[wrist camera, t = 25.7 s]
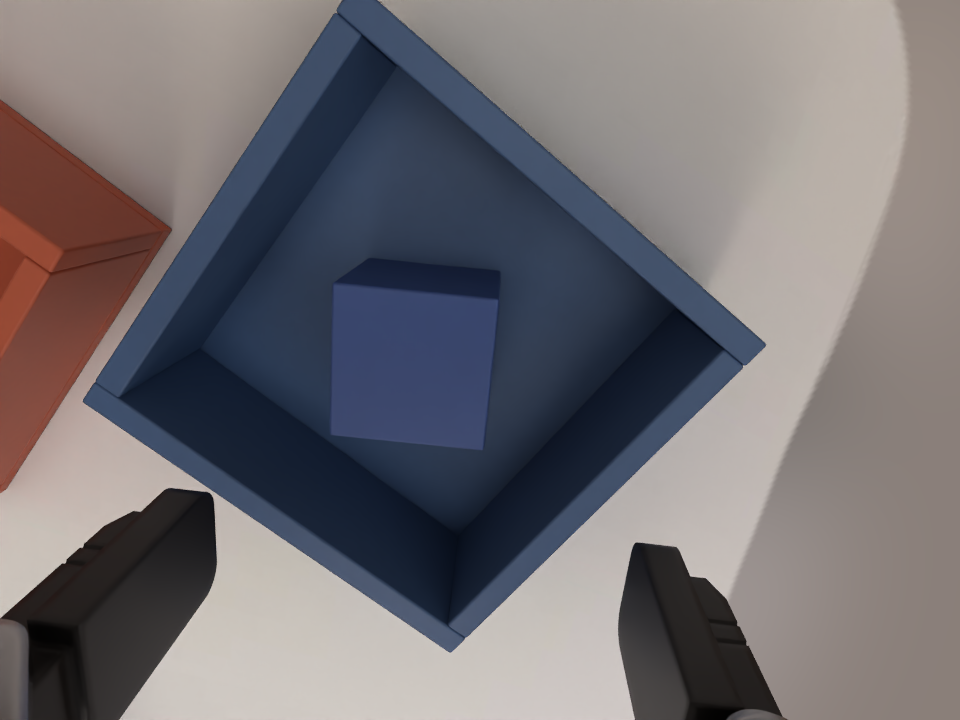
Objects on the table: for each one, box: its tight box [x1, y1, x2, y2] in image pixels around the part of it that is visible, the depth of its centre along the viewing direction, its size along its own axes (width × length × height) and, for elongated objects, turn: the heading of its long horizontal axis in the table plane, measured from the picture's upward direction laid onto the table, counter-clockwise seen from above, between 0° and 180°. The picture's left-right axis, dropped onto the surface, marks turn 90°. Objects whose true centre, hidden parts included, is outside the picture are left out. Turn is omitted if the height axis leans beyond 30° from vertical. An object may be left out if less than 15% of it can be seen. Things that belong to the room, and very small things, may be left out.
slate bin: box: [83, 0, 766, 653], centre depth 20 cm, size 14×14×6 cm
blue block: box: [330, 258, 501, 450], centre depth 20 cm, size 5×5×5 cm
